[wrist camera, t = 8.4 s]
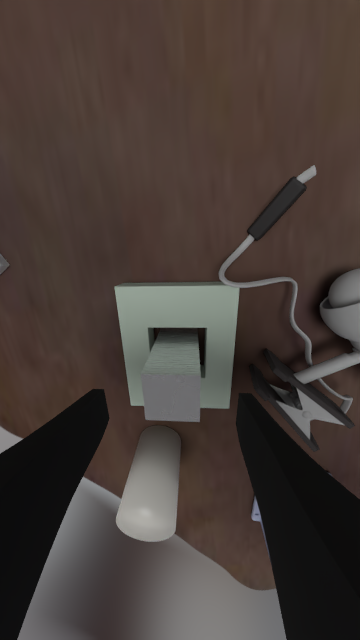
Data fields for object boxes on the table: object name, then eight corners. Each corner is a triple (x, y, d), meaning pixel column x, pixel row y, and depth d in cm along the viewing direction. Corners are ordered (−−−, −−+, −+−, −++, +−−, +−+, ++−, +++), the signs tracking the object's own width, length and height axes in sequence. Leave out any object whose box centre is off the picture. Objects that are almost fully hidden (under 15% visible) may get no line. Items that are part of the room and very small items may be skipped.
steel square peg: (196, 358, 17) (199, 421, 11) (163, 357, 17) (145, 419, 11) (197, 326, 16) (200, 375, 10) (161, 326, 16) (140, 374, 10)
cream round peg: (181, 456, 22) (175, 544, 15) (141, 453, 22) (119, 538, 15) (181, 426, 20) (175, 509, 14) (138, 423, 20) (112, 503, 14)
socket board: (225, 392, 18) (229, 408, 16) (137, 390, 19) (130, 405, 17) (233, 281, 15) (239, 285, 13) (124, 282, 15) (114, 286, 13)
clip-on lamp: (188, 269, 18) (287, 423, 18) (166, 262, 12) (315, 494, 12) (316, 175, 14) (438, 375, 14) (381, 92, 8) (592, 444, 8)
